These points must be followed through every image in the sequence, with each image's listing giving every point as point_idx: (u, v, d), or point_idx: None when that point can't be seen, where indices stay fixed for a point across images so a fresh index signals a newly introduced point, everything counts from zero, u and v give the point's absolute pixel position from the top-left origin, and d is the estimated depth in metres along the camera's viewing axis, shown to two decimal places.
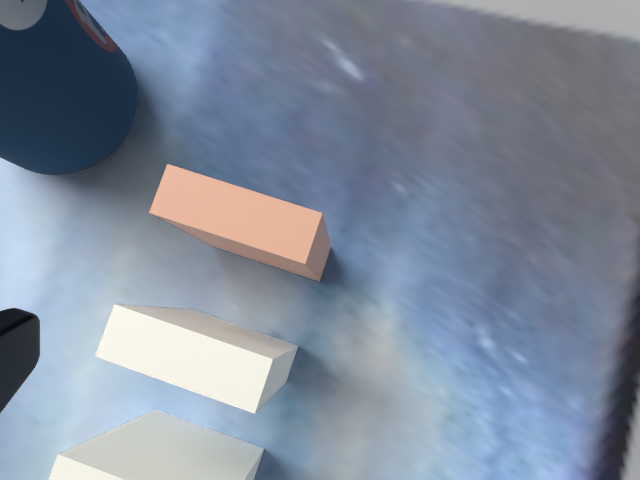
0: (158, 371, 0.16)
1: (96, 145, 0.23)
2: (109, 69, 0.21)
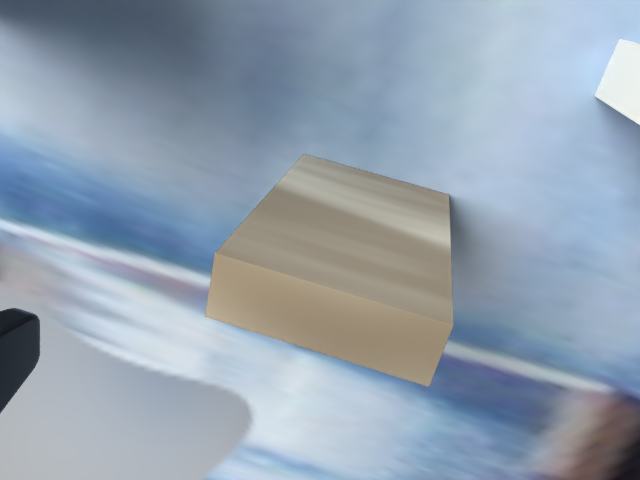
0: None
1: None
2: None
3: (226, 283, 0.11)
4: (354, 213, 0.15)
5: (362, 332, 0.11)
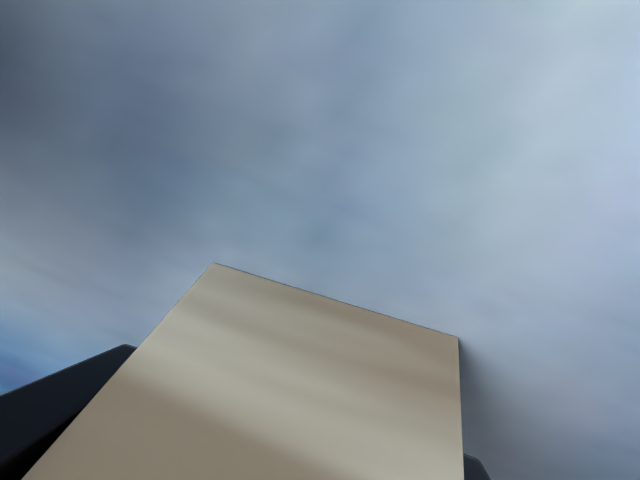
0: None
1: None
2: None
3: None
4: (267, 439, 0.07)
5: None
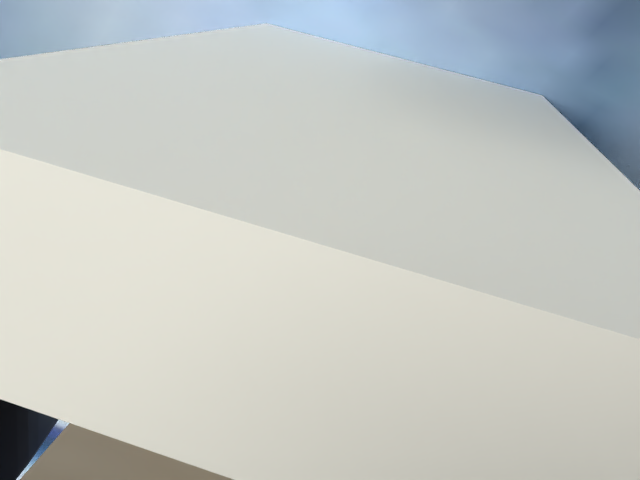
0: None
1: None
2: None
3: None
4: None
5: None
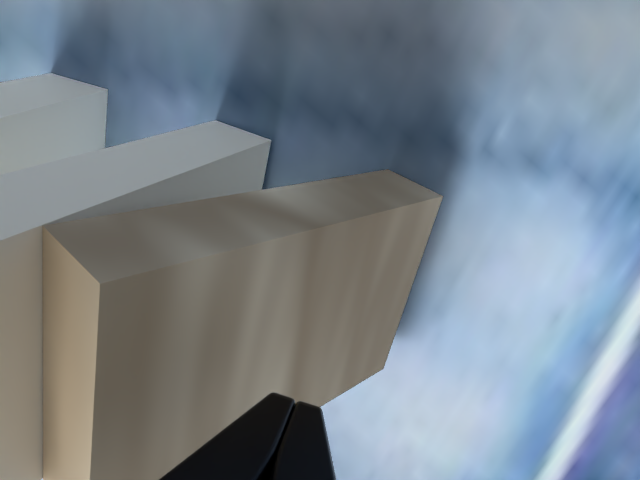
0: None
1: None
2: None
3: None
4: None
5: (66, 354, 0.08)
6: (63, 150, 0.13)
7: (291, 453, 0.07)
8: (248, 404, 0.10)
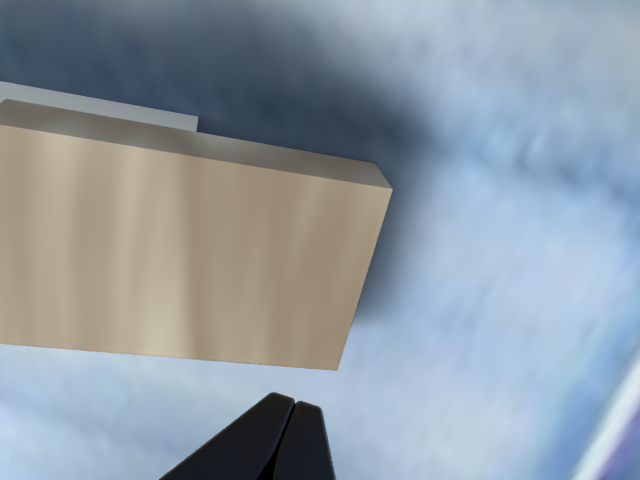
0: None
1: None
2: None
3: None
4: None
5: None
6: None
7: (291, 453, 0.07)
8: (137, 304, 0.12)
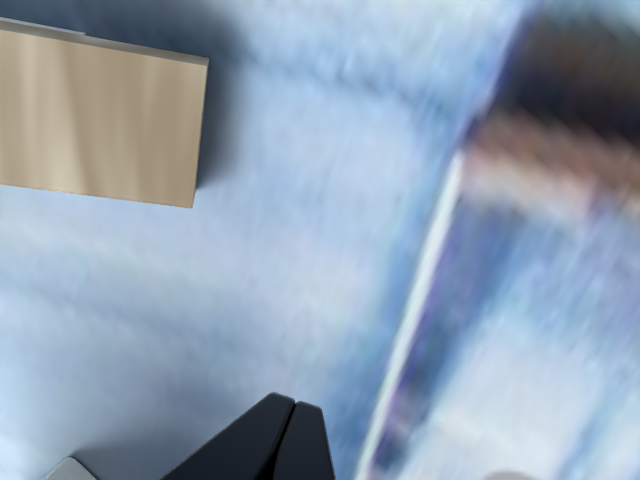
0: None
1: None
2: None
3: None
4: None
5: None
6: None
7: (291, 453, 0.07)
8: (43, 150, 0.18)
